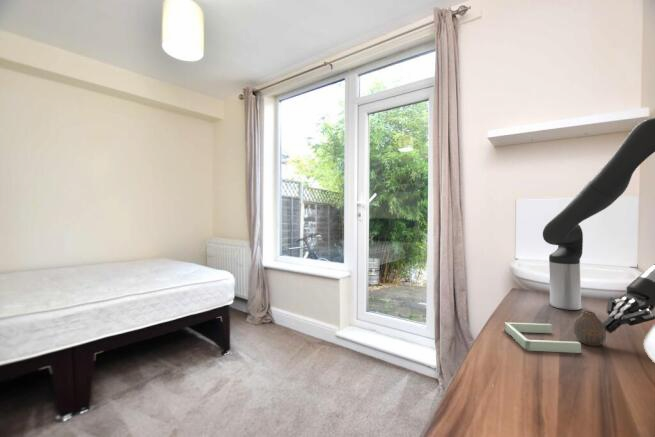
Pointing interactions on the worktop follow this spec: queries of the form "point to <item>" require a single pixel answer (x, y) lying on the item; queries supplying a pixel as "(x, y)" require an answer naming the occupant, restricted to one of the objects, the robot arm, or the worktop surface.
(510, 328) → the bay
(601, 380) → the worktop surface
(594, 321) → the vase
